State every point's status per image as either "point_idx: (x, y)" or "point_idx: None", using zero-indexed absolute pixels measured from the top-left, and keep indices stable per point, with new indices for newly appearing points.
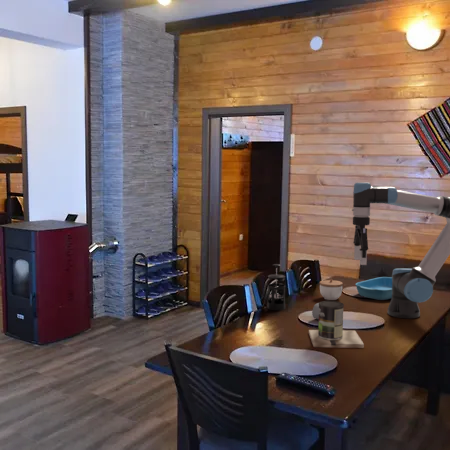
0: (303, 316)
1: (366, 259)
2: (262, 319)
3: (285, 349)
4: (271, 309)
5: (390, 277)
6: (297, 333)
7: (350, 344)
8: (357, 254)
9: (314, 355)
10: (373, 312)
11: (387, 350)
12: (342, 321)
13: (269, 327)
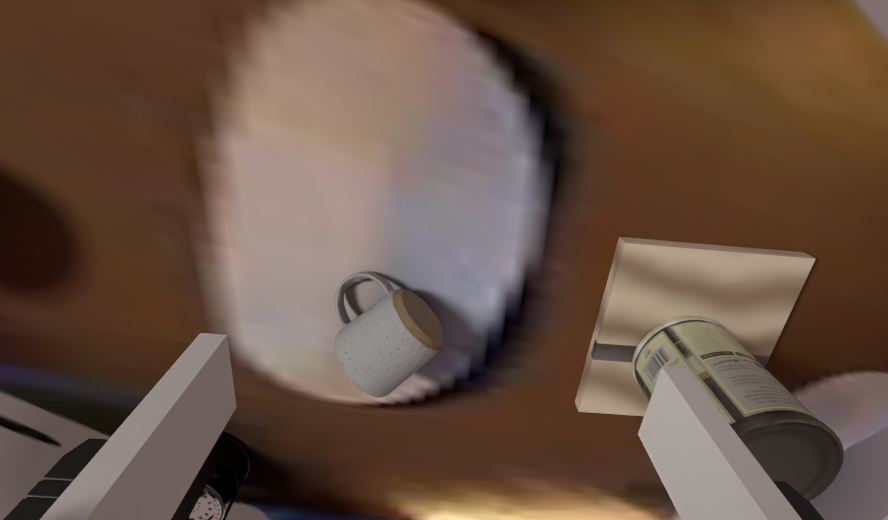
0: (337, 383)
1: (732, 432)
2: (386, 510)
3: None
4: (246, 476)
5: None
6: (569, 435)
7: (790, 307)
8: (188, 435)
9: None
10: (219, 4)
11: (873, 163)
12: (764, 369)
13: (486, 500)
